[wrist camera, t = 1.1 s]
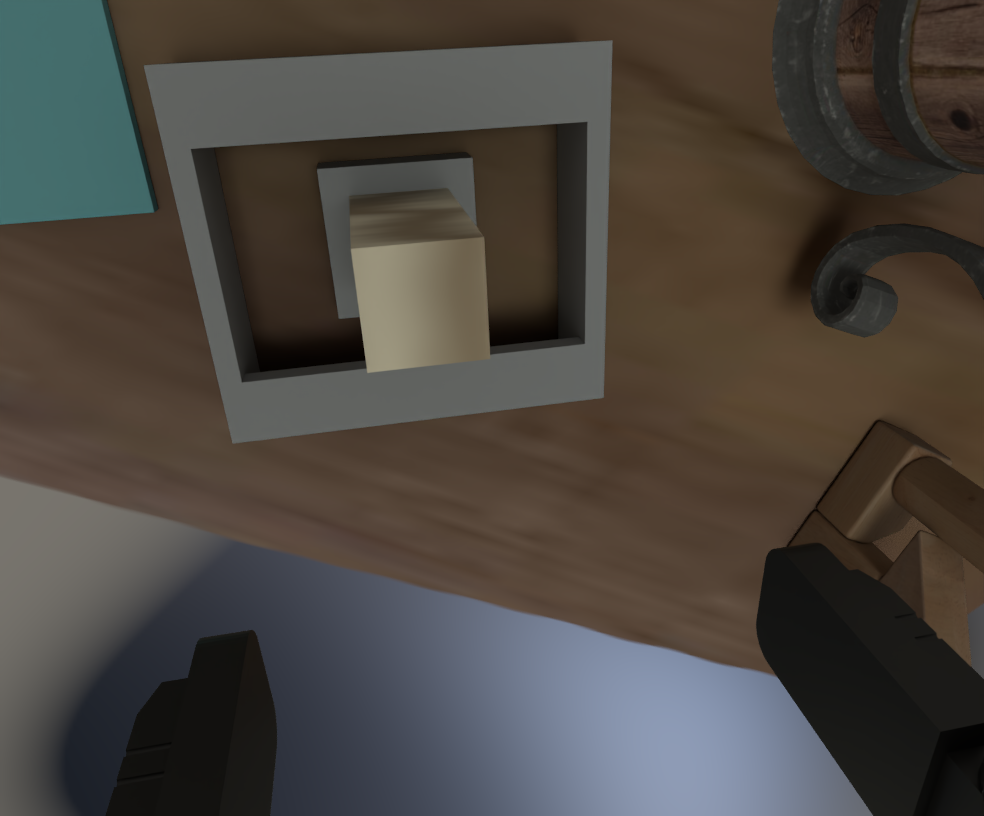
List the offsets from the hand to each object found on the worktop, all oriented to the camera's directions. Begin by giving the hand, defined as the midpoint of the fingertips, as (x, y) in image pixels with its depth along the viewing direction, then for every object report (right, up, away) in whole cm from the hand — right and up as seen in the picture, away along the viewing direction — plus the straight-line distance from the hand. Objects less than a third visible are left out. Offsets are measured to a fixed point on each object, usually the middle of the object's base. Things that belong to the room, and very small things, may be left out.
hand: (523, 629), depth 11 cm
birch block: (-5, +11, +23) cm, 26 cm away
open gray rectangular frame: (-5, +12, +25) cm, 28 cm away
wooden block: (+23, -2, +38) cm, 45 cm away
